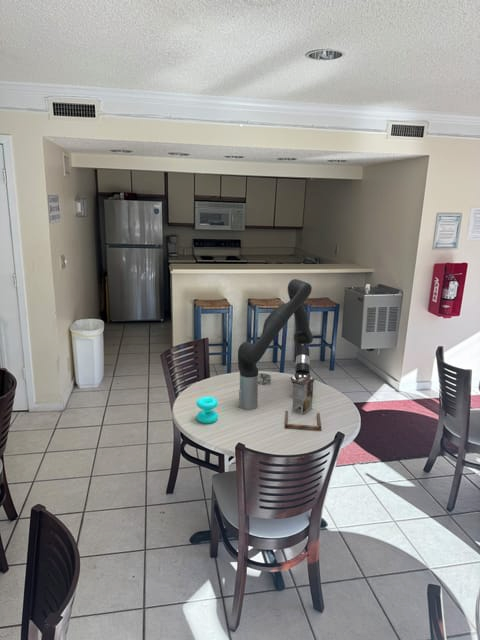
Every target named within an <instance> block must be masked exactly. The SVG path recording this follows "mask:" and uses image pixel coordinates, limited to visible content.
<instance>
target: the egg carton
mask: <svg viewBox="0 0 480 640" xmlns="http://www.w3.org/2000/svg"><path fill="white" fill-rule="evenodd" d="M271 379H272V375H271V374H268V373H263V372H262V373H261V372H258V385H260V386H261V385H262V386H263V385H266V386H269V385H271Z"/></svg>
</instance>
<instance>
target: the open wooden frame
mask: <svg viewBox="0 0 480 640" xmlns="http://www.w3.org/2000/svg"><path fill="white" fill-rule="evenodd" d="M284 416H285V419H284V429H285V430H287V429H288V430H301V431H302V430H303V431H315V432H316V431H317V432H321V431H322V422H321V421H322V420H321V414H320V412H316V421H317V422H316V423H317V425H313V424H312V425H311V424H310V425H309V424H296V423H295V424H294V423H289V422H288V421H289V411H288V410H285V415H284Z"/></svg>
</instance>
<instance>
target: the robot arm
mask: <svg viewBox="0 0 480 640" xmlns="http://www.w3.org/2000/svg"><path fill="white" fill-rule="evenodd" d="M312 290H313V288H312V285H311V283H309V282H306V281H303V280H301V279H296V278H294V279H292V280H290V281H289V283H288V285H287V293H288V294H287V295H288V298H289V301H288V302H286V303H283V304H281V305H280V306H277V307H276V308H274V309H273V310H271V312H270V313H269V314H268V316H267V317H266V319H265V320H264V322H263V327H262V331H261V334H260V337H259V338H258V339H257V341H256V342H255V343H252V342H250V341H244V342H242V343H241V344H240V345H239V346H238V351H237V365H238V366H237V367H238V370H239V390H238V408H239V409H243V410H249V411H251V410H255V409H257V408H258V403H259V402H258V400H259V380H258V375H259V369H258V367H257V365H256V363H258V362H260V360H261V359H262V357H263V356H264V355H265V353H266V352H267V350H268V348H269V346H270V345H271V344H272V342H273V341H274V339H276V337H277V336H278V334H279V333H280V331H282V329H283V328H284V327H285V326H286V324H287V323H288V321H289V320H290V319H291V317H292V316H293V315H294V322H295V323H294V324H295V325H294V326H295V329H296V331H295V332H294V334H293V341H294V345H295V349H296V356H295V357H296V358H295V372H294V373H295V374H294V376H293V377H292V376H291V377H290V381H291V383H292V384H293V385H294V381H296V380H297V379H299V378H301V377H302V376H304V377H307V378H310V379H313V383H315V378H312V376H311V372H310V371H311V369H310V368H311V365H310V363H311V361H310V348H309V347H308V346H305V345H311V344H312V343H313V340H314V335H313V333H312V331H311V328H310V326H309V325H310V324H309V316H308V313H307V311H306V309H305V308H304V305H303V304H304V302H306V300H307V299H308V298H309V297H310V295H311V293H312Z"/></svg>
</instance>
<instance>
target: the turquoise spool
mask: <svg viewBox="0 0 480 640" xmlns="http://www.w3.org/2000/svg"><path fill="white" fill-rule="evenodd" d="M218 404H219V402H218V399H216V398H215V397H213V396H203V397H200V398H198V399H197V401H196V406H197V407H198V409H200V411H199V412H198V413H197V415H196V419H197V421H198V422H200V423H201V422H202V423H201V424H213V423H215V422H216V421H217V420H218V417H219V415H218V413H217V412H216V411H215V410H214V409H215V408H217V406H218Z"/></svg>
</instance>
